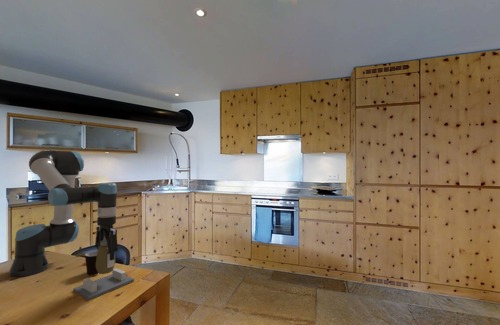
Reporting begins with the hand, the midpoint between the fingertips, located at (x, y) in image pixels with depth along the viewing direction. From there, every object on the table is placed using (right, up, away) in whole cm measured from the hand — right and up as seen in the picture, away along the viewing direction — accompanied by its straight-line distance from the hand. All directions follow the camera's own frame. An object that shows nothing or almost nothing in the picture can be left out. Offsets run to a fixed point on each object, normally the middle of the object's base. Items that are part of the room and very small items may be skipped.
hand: (105, 264), depth 111 cm
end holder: (0, -10, 0) cm, 10 cm away
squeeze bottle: (0, -3, 0) cm, 3 cm away
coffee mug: (-14, -10, +15) cm, 23 cm away
